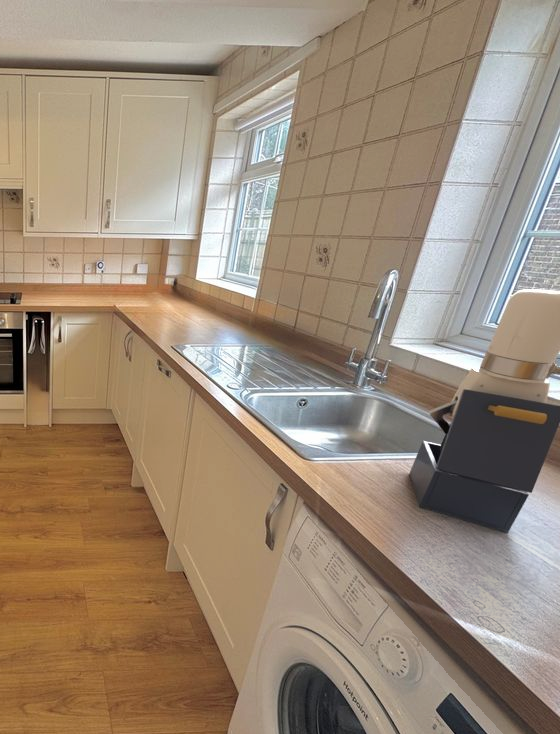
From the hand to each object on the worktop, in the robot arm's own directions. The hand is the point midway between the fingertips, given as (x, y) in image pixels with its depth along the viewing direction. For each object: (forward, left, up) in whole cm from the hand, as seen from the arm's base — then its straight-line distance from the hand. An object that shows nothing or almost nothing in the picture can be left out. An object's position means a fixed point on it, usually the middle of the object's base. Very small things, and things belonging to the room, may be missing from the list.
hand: (470, 460), depth 74 cm
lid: (0, +6, +7) cm, 9 cm away
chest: (0, +1, -8) cm, 8 cm away
